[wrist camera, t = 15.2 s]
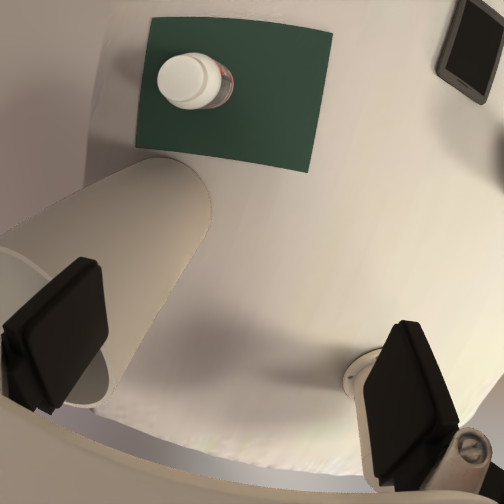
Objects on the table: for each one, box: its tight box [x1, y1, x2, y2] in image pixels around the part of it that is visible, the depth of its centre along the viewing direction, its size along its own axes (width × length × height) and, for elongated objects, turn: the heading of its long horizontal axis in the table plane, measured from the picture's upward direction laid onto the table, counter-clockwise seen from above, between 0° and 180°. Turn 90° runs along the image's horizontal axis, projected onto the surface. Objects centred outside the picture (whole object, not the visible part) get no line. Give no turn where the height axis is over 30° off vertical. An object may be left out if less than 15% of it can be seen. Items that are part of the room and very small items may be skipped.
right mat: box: [136, 17, 333, 173], centre depth 31 cm, size 20×16×1 cm
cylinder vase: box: [0, 158, 212, 408], centre depth 27 cm, size 12×12×25 cm
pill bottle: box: [157, 53, 234, 110], centre depth 27 cm, size 5×5×10 cm
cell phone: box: [437, 0, 504, 105], centre depth 24 cm, size 7×14×1 cm, turn 160°
